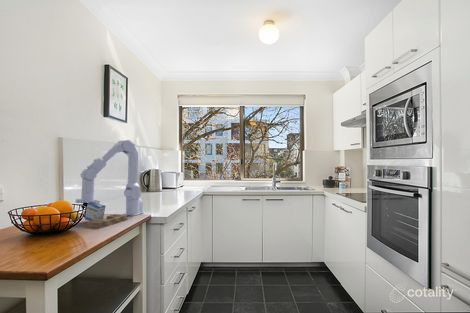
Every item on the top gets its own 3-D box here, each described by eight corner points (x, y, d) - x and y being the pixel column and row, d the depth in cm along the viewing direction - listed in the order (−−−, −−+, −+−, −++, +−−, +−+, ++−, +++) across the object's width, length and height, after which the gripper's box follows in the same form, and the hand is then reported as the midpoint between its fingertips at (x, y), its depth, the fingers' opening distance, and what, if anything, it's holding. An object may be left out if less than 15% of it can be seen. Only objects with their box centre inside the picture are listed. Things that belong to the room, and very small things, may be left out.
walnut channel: (114, 218, 149) (114, 214, 149) (127, 219, 146) (127, 215, 146) (87, 226, 132) (87, 221, 132) (100, 228, 129) (100, 222, 129)
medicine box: (84, 219, 141) (87, 203, 140) (90, 217, 145) (93, 201, 145) (96, 223, 139) (99, 206, 138) (103, 221, 143) (106, 205, 143)
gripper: (70, 191, 142) (69, 217, 142) (92, 193, 137) (90, 220, 137) (82, 190, 149) (81, 215, 148) (103, 191, 144) (102, 217, 143)
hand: (86, 217), depth 143 cm, fingers closed, pressing on medicine box
